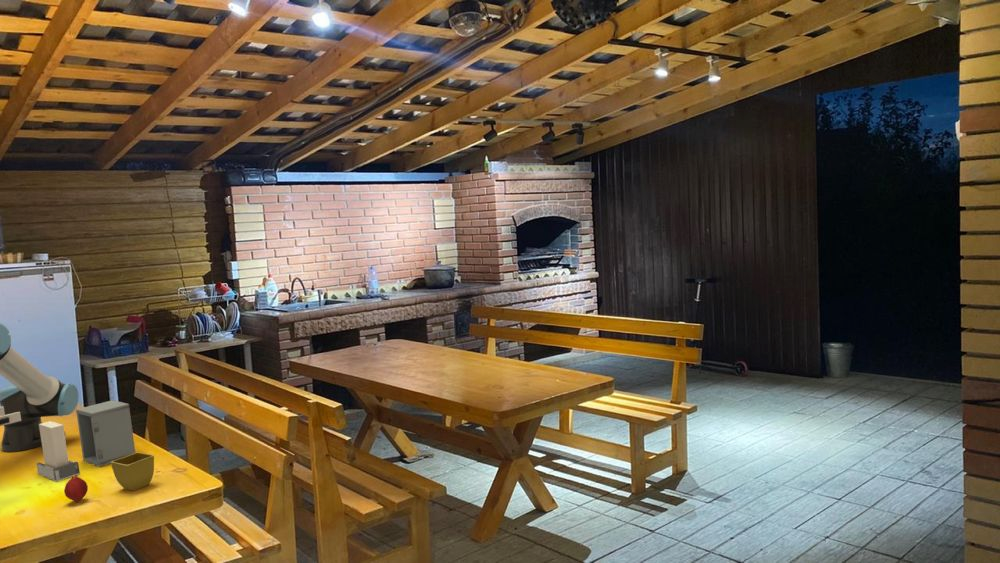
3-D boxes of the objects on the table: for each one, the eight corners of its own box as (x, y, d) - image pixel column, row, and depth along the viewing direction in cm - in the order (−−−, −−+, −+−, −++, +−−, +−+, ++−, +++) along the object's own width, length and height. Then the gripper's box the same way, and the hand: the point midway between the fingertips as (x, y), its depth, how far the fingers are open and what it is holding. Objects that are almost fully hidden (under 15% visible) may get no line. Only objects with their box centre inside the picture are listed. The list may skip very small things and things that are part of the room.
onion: (72, 498, 217) (68, 472, 216) (92, 496, 217) (89, 470, 217) (62, 506, 211) (58, 479, 210) (83, 504, 212) (79, 477, 211)
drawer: (37, 473, 242) (36, 461, 242) (60, 466, 248) (58, 455, 247) (56, 481, 233) (54, 469, 233) (79, 474, 238) (78, 462, 238)
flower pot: (131, 495, 216) (126, 465, 215) (113, 490, 221) (109, 461, 220) (158, 484, 224) (154, 455, 223) (141, 480, 228) (137, 451, 227)
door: (45, 471, 242) (38, 424, 240) (58, 468, 245) (51, 420, 243) (58, 477, 236) (51, 428, 234) (71, 473, 239) (64, 424, 237)
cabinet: (83, 461, 252) (75, 409, 250) (119, 450, 261) (112, 400, 259) (100, 467, 244) (92, 414, 242) (137, 456, 253) (130, 404, 251)
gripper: (-83, 440, 221) (-1, 419, 238) (-56, 454, 206) (29, 430, 222) (-87, 416, 220) (-5, 396, 237) (-61, 427, 205) (25, 406, 221)
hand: (12, 413), depth 230 cm, fingers open, 13 cm apart
